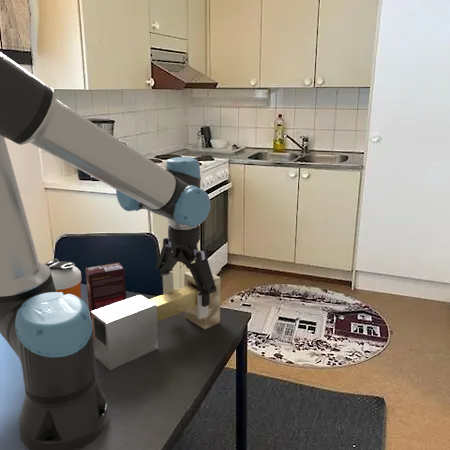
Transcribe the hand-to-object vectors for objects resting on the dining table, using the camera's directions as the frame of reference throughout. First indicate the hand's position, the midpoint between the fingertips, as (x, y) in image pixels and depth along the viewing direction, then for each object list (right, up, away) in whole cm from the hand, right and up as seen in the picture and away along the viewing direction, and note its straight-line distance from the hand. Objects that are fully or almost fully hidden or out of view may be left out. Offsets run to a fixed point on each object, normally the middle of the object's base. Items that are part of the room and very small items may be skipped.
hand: (185, 306), depth 115 cm
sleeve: (-12, -9, -9) cm, 18 cm away
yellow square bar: (-3, -1, -3) cm, 5 cm away
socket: (+4, -4, +5) cm, 8 cm away
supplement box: (-19, -5, +2) cm, 20 cm away
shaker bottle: (-27, -8, -6) cm, 29 cm away
